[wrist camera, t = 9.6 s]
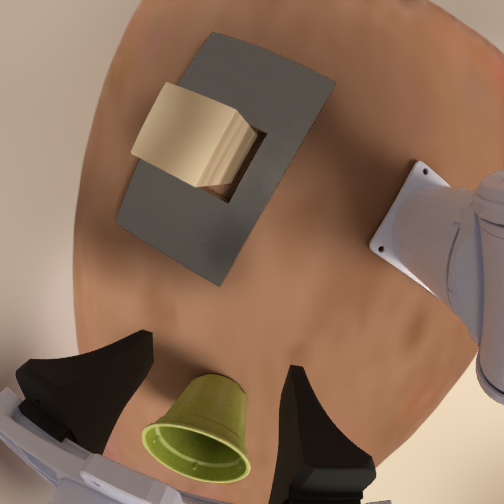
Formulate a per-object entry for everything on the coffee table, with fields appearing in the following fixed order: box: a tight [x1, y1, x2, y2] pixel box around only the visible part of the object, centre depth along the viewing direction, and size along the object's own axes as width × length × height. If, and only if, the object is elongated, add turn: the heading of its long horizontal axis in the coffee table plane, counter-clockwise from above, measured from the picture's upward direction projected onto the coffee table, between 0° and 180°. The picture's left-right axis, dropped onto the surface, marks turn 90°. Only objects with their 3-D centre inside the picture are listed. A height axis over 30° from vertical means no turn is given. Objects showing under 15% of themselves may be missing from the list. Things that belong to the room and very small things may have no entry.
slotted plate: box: [115, 32, 336, 287], centre depth 19 cm, size 10×17×2 cm, turn 151°
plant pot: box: [142, 374, 251, 483], centre depth 21 cm, size 9×9×9 cm
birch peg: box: [131, 82, 258, 187], centre depth 15 cm, size 4×4×8 cm
